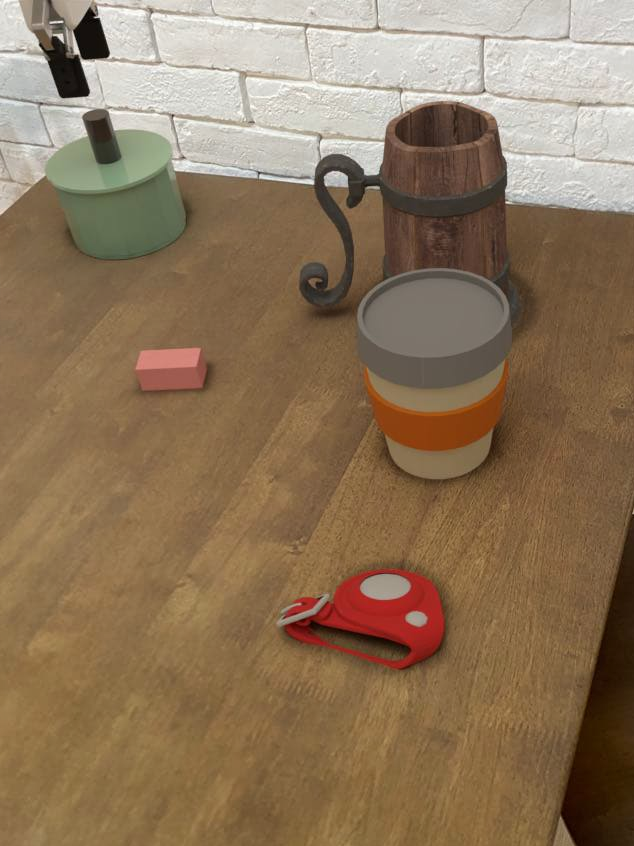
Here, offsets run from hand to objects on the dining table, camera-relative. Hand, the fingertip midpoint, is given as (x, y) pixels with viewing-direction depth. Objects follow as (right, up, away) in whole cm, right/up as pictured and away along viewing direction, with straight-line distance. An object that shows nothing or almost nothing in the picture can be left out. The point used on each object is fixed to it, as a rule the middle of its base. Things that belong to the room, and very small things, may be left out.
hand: (86, 76), depth 101 cm
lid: (0, -6, +7) cm, 10 cm away
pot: (+1, -12, +13) cm, 18 cm away
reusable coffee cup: (+38, -42, -16) cm, 59 cm away
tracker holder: (+32, -57, -29) cm, 71 cm away
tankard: (+36, -27, -2) cm, 45 cm away
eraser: (+12, -35, -8) cm, 38 cm away
